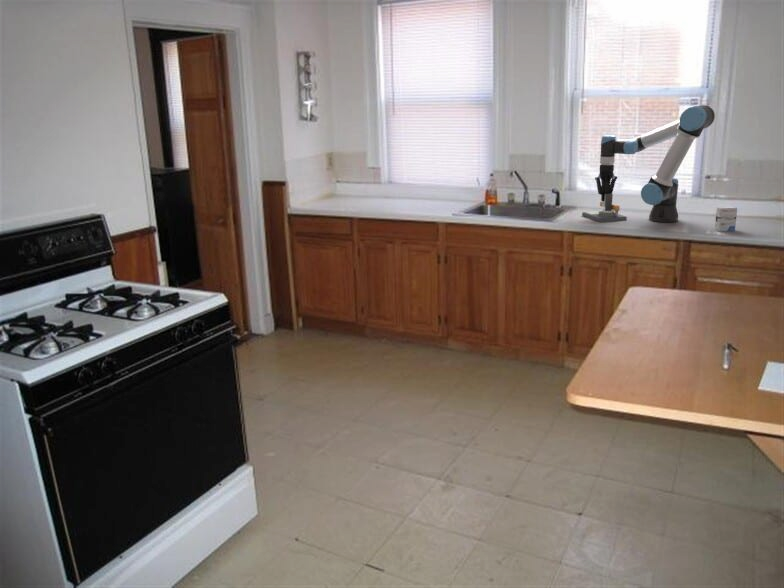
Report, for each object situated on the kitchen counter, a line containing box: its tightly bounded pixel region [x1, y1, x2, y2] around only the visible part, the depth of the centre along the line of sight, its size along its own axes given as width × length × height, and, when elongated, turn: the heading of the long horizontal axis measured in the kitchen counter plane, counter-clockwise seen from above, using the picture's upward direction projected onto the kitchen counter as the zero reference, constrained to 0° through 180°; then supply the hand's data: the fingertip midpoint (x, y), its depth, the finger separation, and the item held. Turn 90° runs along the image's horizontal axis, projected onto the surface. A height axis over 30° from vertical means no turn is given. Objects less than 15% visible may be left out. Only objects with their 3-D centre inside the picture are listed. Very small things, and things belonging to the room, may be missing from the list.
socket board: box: [581, 210, 627, 223], centre depth 397 cm, size 20×16×5 cm
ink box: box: [714, 206, 738, 232], centre depth 358 cm, size 8×5×12 cm, turn 92°
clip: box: [599, 200, 621, 212], centre depth 395 cm, size 17×3×3 cm, turn 14°
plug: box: [602, 193, 615, 214], centre depth 391 cm, size 6×6×12 cm
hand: (604, 206), depth 396 cm, fingers closed
